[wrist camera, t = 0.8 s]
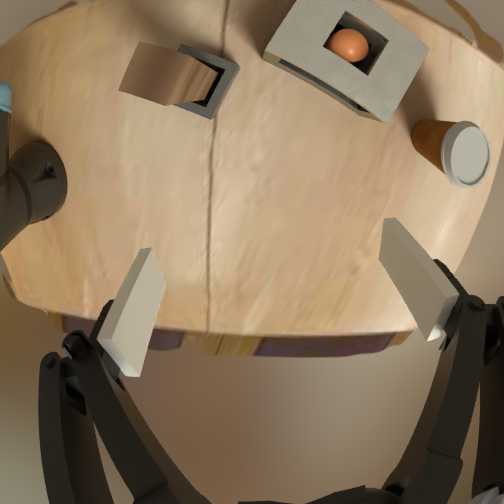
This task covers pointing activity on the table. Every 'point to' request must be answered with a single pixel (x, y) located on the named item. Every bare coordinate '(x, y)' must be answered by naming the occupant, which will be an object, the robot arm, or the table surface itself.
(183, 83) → the brown wooden bar
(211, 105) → the gray square socket
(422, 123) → the disposable coffee cup
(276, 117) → the table surface
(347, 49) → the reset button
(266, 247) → the table surface
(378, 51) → the box
